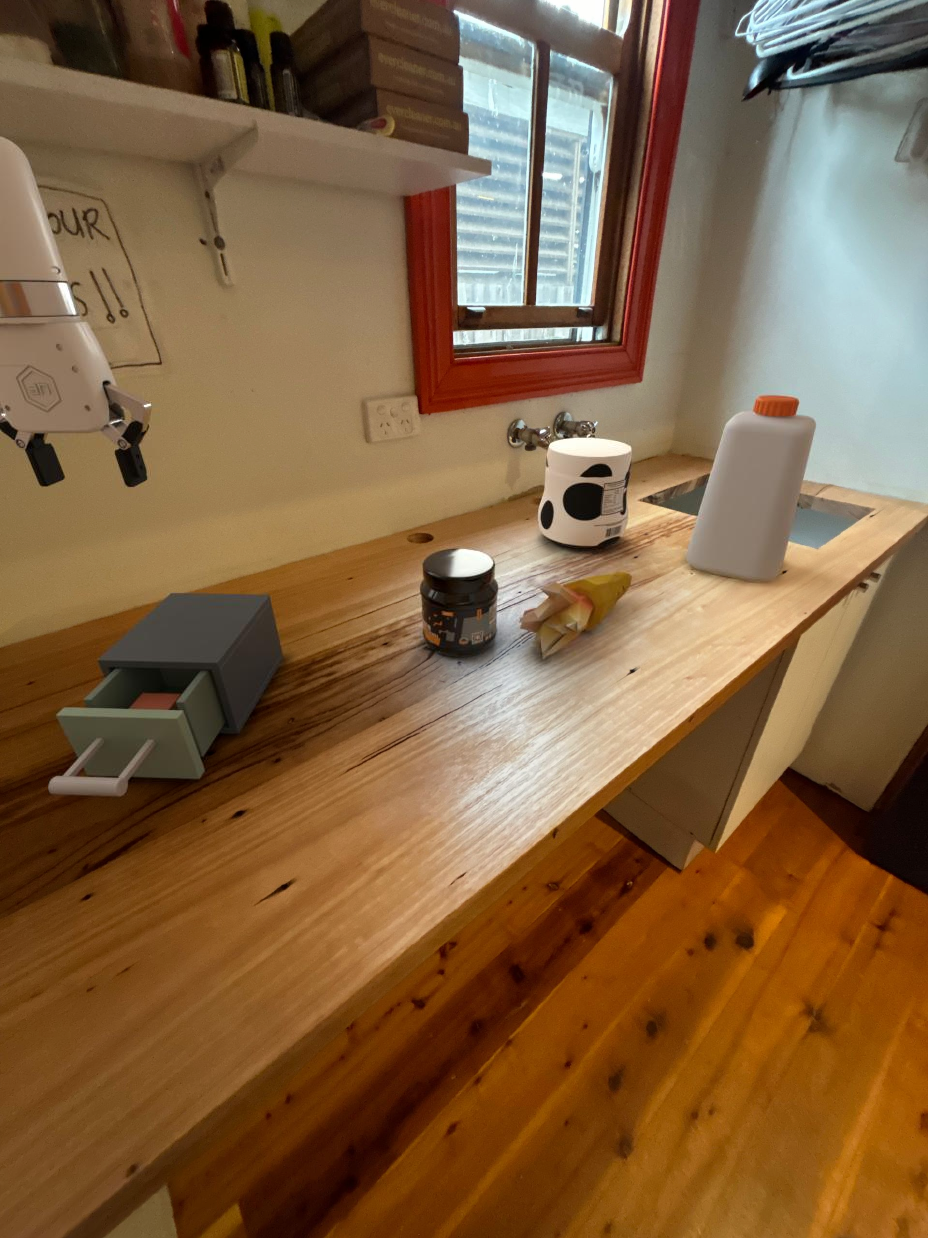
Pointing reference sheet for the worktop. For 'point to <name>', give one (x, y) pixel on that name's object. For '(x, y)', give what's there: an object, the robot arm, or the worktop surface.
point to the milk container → (585, 492)
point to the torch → (573, 609)
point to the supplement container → (459, 601)
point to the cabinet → (208, 646)
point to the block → (156, 701)
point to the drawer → (140, 730)
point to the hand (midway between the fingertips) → (95, 483)
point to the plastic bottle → (753, 492)
